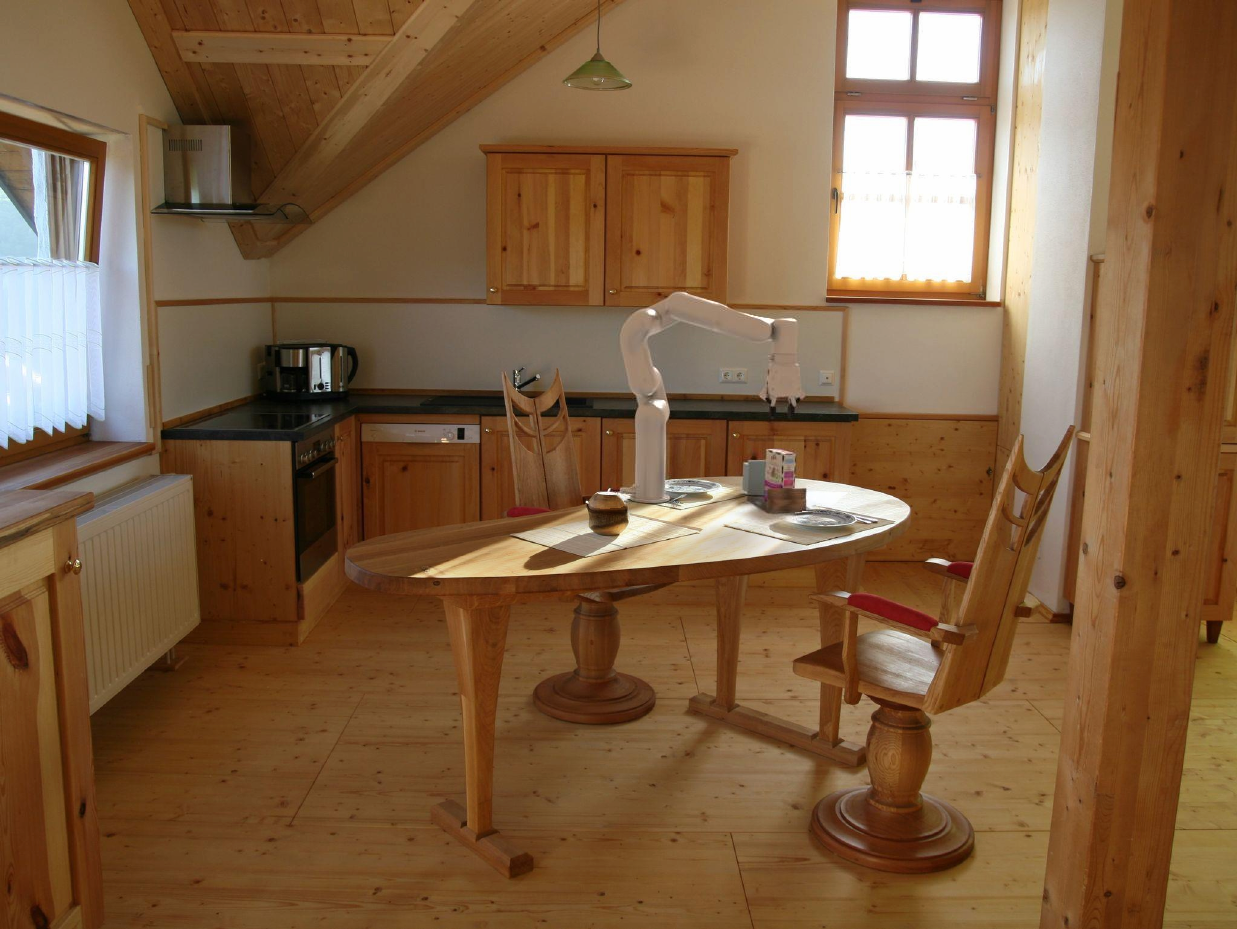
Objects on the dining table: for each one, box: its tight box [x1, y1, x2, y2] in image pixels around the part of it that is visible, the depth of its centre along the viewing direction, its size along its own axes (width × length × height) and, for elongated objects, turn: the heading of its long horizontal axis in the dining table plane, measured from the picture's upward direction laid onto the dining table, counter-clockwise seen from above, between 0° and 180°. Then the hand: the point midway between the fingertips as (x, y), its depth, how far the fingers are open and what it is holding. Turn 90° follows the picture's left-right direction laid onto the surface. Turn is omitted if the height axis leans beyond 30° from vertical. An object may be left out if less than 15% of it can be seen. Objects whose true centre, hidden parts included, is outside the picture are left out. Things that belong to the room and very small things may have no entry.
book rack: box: [746, 487, 814, 515], centre depth 333 cm, size 14×22×7 cm, turn 11°
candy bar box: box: [763, 448, 797, 501], centre depth 333 cm, size 11×5×16 cm, turn 21°
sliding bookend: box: [742, 459, 766, 496], centre depth 349 cm, size 12×9×11 cm
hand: (781, 418), depth 329 cm, fingers open, 4 cm apart
